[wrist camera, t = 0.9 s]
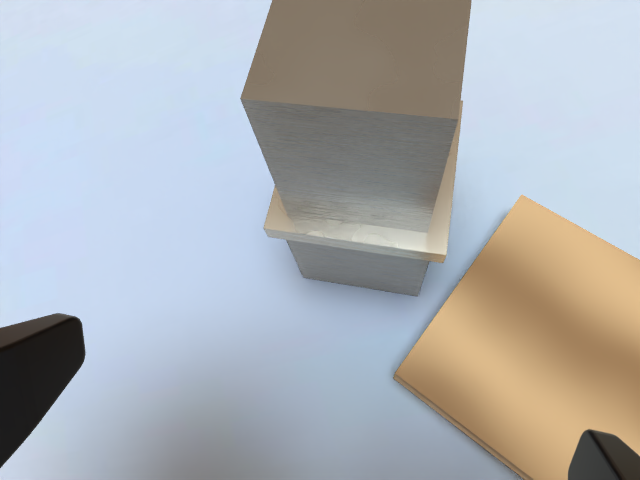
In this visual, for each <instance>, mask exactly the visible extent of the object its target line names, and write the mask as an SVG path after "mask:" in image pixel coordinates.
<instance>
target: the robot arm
mask: <svg viewBox="0 0 640 480" xmlns="http://www.w3.org/2000/svg"><path fill="white" fill-rule="evenodd" d="M84 359H85V344H84V336H83V328H82V323H81V321H80V319H79V318H77V317H75V316H71V315H66V314H61V313H57V314H52V315H48V316H44V317H41V318H37V319H33V320H29V321H25V322H21V323H18V324H14V325H10V326H6V327H2V328H0V468H1V467H2V466H3V465H4V463H5V462H6V461H7V460H8V459H9V458H10V457H11V456H12V454H13V453H14V452H15V451H16V450H17V449H18V448H19V447H20V446H21V444H22V443H23V442H24V441H25V440H26V438H27V437H28V436H29V435H30V434H31V432H32V431H33V430H34V429H35V427H36V426H37V425H38V424H39V422H40V421H41V420H42V418H43V417H44V416H45V414H46V413H47V412H48V410H49V409H50V408H51V406H52V405H53V404H54V402H55V401H56V400H57V398H58V397H59V395H60V394H61V393H62V391H63V390H64V389H65V387H66V386H67V385H68V383H69V382H70V381H71V379H72V378H73V377H74V375H75V374H76V373H77V371H78V370H79V369H80V367H81V366H82V364H83V362H84ZM568 480H640V456H639V455H638V454H637V453H636V452H635V451H634V450H632V449H631V448H630V447H629V446H628V445H627V444H626V443H624V442H623V441H622V440H621V439H620V438H619V437H617V436H616V435H614V434H611V433H606V432H602V431H597V430H592V429H588V430H585V431H584V432H583V433H582V435H581V437H580V439H579V442H578V445H577V447H576V450H575V452H574V455H573V458H572V460H571V463H570V466H569V469H568Z"/></svg>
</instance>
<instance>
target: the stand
mask: <svg viewBox="0 0 640 480" xmlns="http://www.w3.org/2000/svg"><path fill="white" fill-rule="evenodd" d="M393 378H394V379H395V380H396V381H397V382H399V383H400V384H401V385H403V386H404V387H405V388H407V389H408V390H409V391H410V392H412V393H413V394H414V395H416V396H417V397H418V398H419V399H421V400H422V401H423V402H425V403H426V404H427V405H429V406H430V407H431V408H432V409H434V410H435V411H436V412H438V413H439V414H440V415H442V416H443V417H444V418H445V419H447V420H448V421H449V422H451V423H452V424H453V425H455V426H456V427H457V428H458V429H460V430H461V431H462V432H464V433H465V434H466V435H467V436H469V437H470V438H471V439H473V440H474V441H475V442H477V443H478V444H479V445H480V446H482V447H483V448H484V449H486V450H487V451H488V452H490V453H491V454H492V455H493V456H495V457H496V458H497V459H499V460H500V461H501V462H502V463H504V464H505V465H506V466H508V467H509V468H510V469H512V470H513V471H514V472H515V473H517V474H518V475H519V476H521V477H522V478H523V479H525V480H568V469H569V466H570V463H571V460H572V458H573V455H574V452H575V450H576V447H577V445H578V442H579V439H580V437H581V435H582V433H583V432H584V431H585V430H588V429H592V430H597V431H602V432H606V433H611V434H614V435H616V436H617V437H619V438H620V439H621V440H622V441H623V442H624V443H626V444H627V445H628V446H629V447H630V448H631V449H632V450H634V451H635V452H636V453H637V454H638V455H639V456H640V260H639V259H637V258H635V257H633V256H632V255H630V254H628V253H626V252H624V251H623V250H621V249H619V248H617V247H615V246H614V245H612V244H610V243H608V242H606V241H605V240H603V239H601V238H599V237H597V236H596V235H594V234H592V233H590V232H588V231H587V230H585V229H583V228H581V227H579V226H578V225H576V224H574V223H572V222H570V221H569V220H567V219H565V218H563V217H561V216H560V215H558V214H556V213H554V212H552V211H551V210H549V209H547V208H545V207H543V206H542V205H540V204H538V203H536V202H534V201H533V200H531V199H529V198H527V197H525V196H524V195H521V196H520V198H519V199H518V200H517V202H516V203H515V205H514V206H513V207H512V209H511V210H510V212H509V213H508V214H507V216H506V217H505V219H504V220H503V221H502V223H501V224H500V226H499V227H498V229H497V230H496V231H495V233H494V234H493V236H492V237H491V238H490V240H489V241H488V243H487V244H486V245H485V247H484V248H483V250H482V251H481V252H480V254H479V255H478V257H477V258H476V260H475V261H474V262H473V264H472V265H471V267H470V268H469V269H468V271H467V272H466V274H465V275H464V276H463V278H462V279H461V281H460V282H459V284H458V285H457V286H456V288H455V289H454V291H453V292H452V293H451V295H450V296H449V298H448V299H447V300H446V302H445V303H444V305H443V306H442V307H441V309H440V310H439V312H438V313H437V315H436V316H435V317H434V319H433V320H432V322H431V323H430V324H429V326H428V327H427V329H426V330H425V331H424V333H423V334H422V336H421V337H420V338H419V340H418V341H417V343H416V344H415V346H414V347H413V348H412V350H411V351H410V353H409V354H408V355H407V357H406V358H405V360H404V361H403V362H402V364H401V365H400V367H399V368H398V369H397V371H396V372H395V374H394V377H393Z"/></svg>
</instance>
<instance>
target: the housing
mask: <svg viewBox="0 0 640 480" xmlns="http://www.w3.org/2000/svg"><path fill="white" fill-rule="evenodd" d="M470 9H471V0H272V3H271V6H270V10H269V13H268V16H267V19H266V22H265V25H264V28H263V31H262V34H261V37H260V40H259V43H258V46H257V49H256V52H255V56H254V59H253V62H252V65H251V68H250V71H249V74H248V77H247V80H246V83H245V86H244V89H243V92H242V95H241V98H240V99H241V102H242V104H243V106H244V109H245V111H246V114H247V116H248V119H249V121H250V124H251V126H252V129H253V131H254V134H255V136H256V139H257V141H258V144H259V146H260V149H261V151H262V154H263V156H264V158H265V161H266V163H267V166H268V168H269V171H270V173H271V176H272V178H273V181H274V183H275V188H274V191H273V195H272V199H271V202H270V206H269V210H268V214H267V217H266V221H265V225H264V230H265V232H266V234H267V236H268V237H272V238H278V239H285V240H286V241H287V243H288V245H289V247H290V249H291V251H292V254H293V256H294V258H295V260H296V262H297V264H298V267H299V269H300V271H301V273H302V275H303V277H304V278H308V279H314V280H320V281H327V282H333V283H339V284H345V285H351V286H357V287H363V288H369V289H375V290H382V291H388V292H394V293H400V294H406V295H412V296H418V294H419V291H420V288H421V285H422V282H423V279H424V276H425V273H426V270H427V267H428V264H429V261H432V262H439V263H443V262H444V260H445V257H446V254H447V245H448V235H449V226H450V217H451V208H452V198H453V189H454V180H455V171H456V161H457V152H458V143H459V134H460V124H461V115H462V106H463V101H460V100H461V91H462V81H463V72H464V63H465V54H466V45H467V36H468V27H469V18H470Z"/></svg>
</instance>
